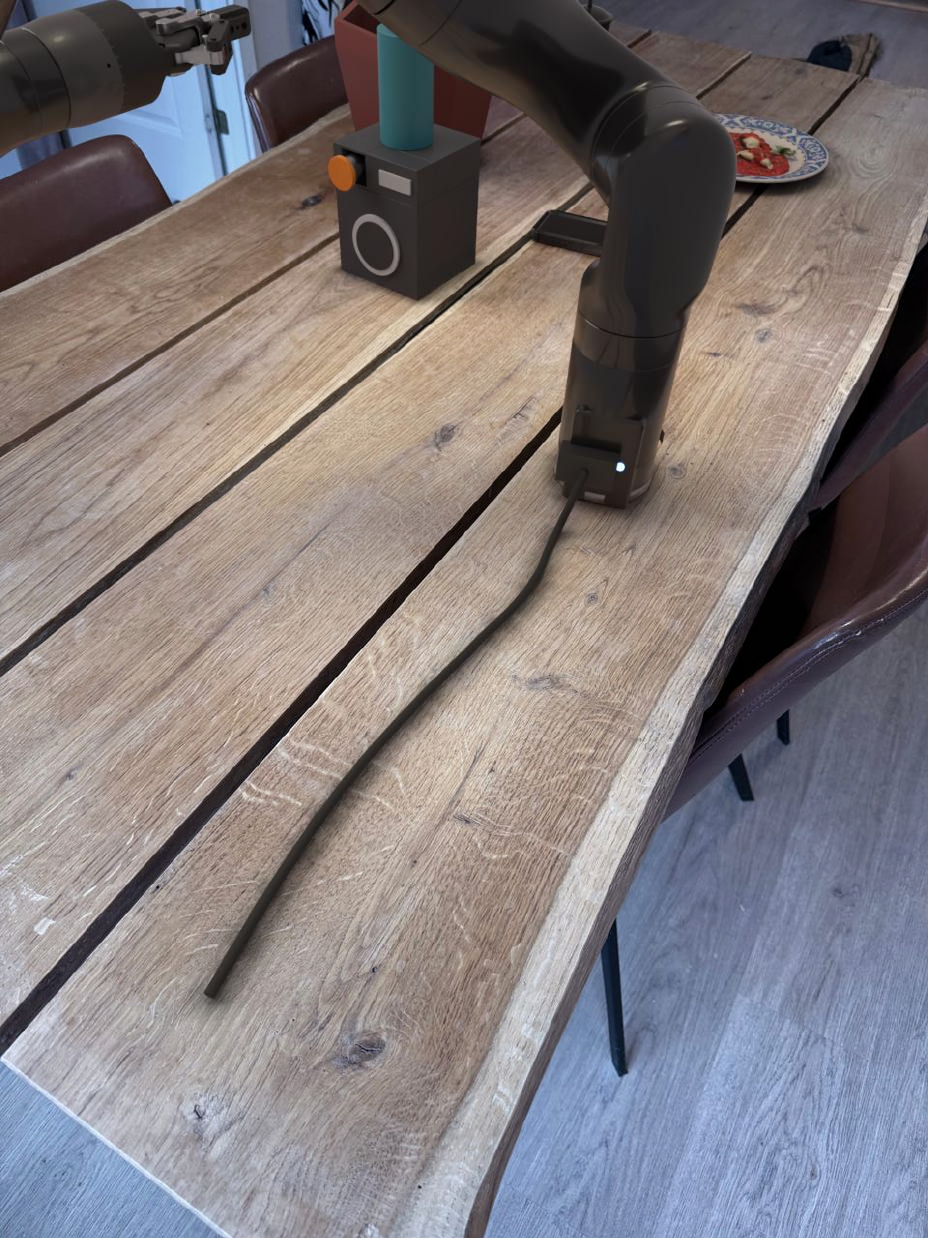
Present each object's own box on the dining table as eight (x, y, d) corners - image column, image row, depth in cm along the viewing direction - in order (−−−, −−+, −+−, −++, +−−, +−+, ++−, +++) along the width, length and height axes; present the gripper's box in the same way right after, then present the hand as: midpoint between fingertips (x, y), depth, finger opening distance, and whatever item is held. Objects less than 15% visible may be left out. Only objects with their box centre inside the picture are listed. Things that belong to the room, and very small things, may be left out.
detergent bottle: (424, 153, 100) (424, -1, 89) (372, 145, 101) (367, -8, 90) (439, 134, 104) (442, -16, 93) (390, 126, 105) (386, -23, 94)
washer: (414, 302, 108) (413, 172, 97) (338, 270, 112) (329, 142, 101) (475, 263, 115) (481, 138, 104) (401, 235, 119) (399, 112, 108)
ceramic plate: (653, 184, 133) (657, 163, 131) (659, 121, 150) (662, 101, 148) (831, 204, 131) (838, 183, 128) (817, 137, 148) (823, 117, 146)
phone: (549, 207, 124) (655, 231, 120) (548, 216, 125) (653, 239, 121) (528, 231, 119) (638, 256, 115) (527, 239, 120) (636, 264, 116)
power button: (353, 194, 101) (351, 161, 99) (329, 185, 103) (326, 152, 100) (375, 183, 103) (374, 150, 101) (351, 175, 105) (349, 142, 102)
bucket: (421, 207, 125) (421, -6, 107) (305, 163, 134) (286, -42, 115) (522, 154, 139) (537, -43, 120) (410, 117, 147) (408, -73, 128)
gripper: (132, 29, 67) (294, -17, 76) (19, -7, 72) (185, -46, 81) (154, 137, 72) (302, 82, 82) (48, 97, 77) (200, 49, 87)
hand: (244, 18), depth 82 cm, fingers closed
